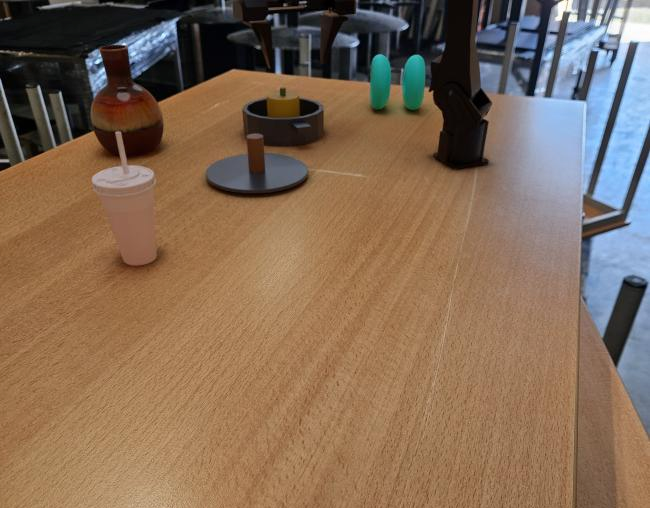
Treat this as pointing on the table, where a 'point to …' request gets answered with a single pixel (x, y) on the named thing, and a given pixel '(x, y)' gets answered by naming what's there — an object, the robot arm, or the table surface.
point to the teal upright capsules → (410, 87)
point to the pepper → (283, 104)
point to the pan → (284, 123)
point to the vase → (125, 108)
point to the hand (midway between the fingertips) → (297, 65)
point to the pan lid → (256, 170)
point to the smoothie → (129, 208)
